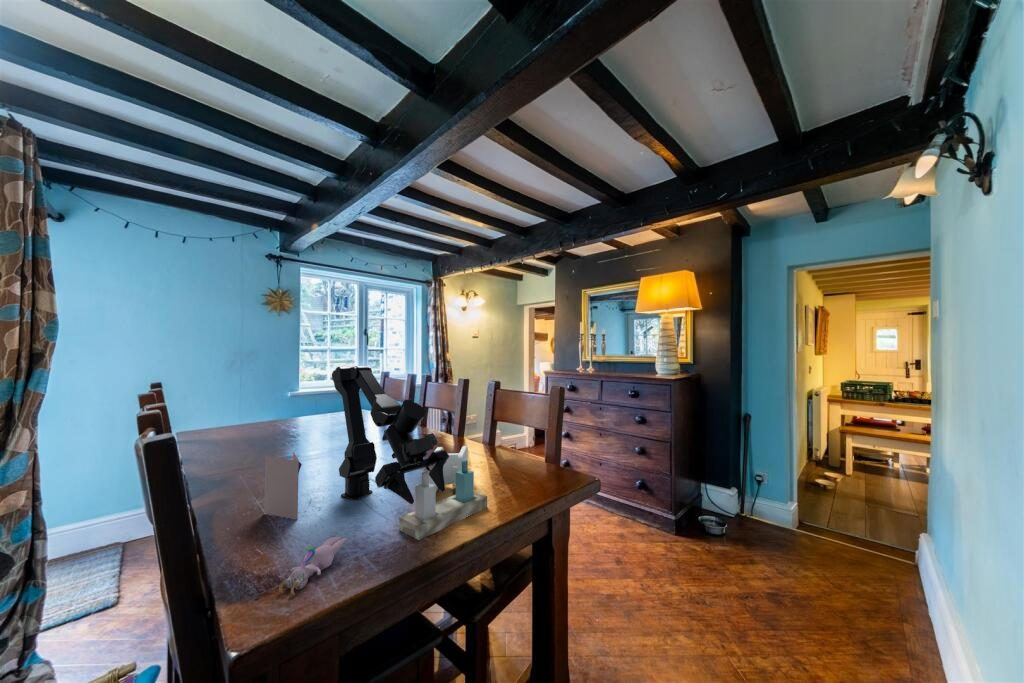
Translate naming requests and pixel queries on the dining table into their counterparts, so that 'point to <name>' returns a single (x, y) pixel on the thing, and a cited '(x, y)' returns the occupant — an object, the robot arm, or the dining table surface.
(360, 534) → the dining table surface
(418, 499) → the grey plug
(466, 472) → the teal plug
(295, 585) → the pink horned figurine
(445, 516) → the slot rack
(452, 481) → the cable organizer
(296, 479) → the greeting card
